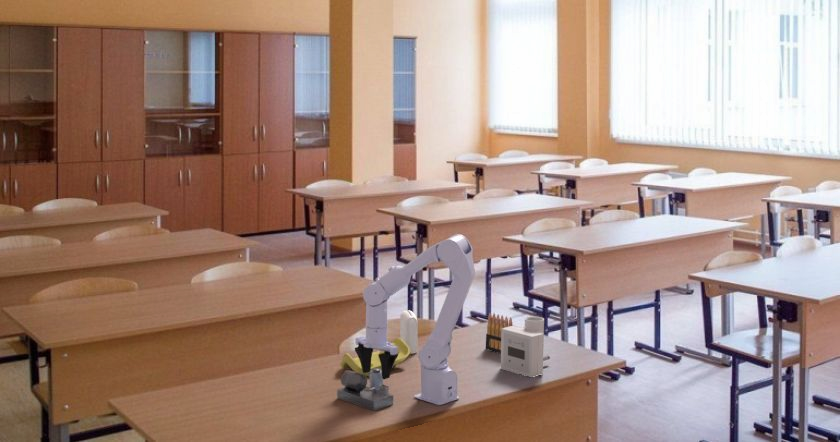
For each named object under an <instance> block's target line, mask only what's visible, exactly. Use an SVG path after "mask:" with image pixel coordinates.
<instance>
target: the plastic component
mask: <svg viewBox="0 0 840 442" xmlns="http://www.w3.org/2000/svg"><path fill="white" fill-rule="evenodd" d="M390 343H391V344H392V345H394V346H397V347H398V357H397V358H396V360H395V362H394V364H393V367H392V369H393V368H394V366H396V365H397V364H400V363H402V362H403V361H404V360H407V357H409V355H411V354H410V348H409V346H408V345H407V344H406V343H405V342H404V341H403V340H402V339H401V338H400V337H396V338H395V339H394V340H392V342H390ZM382 353H384V352H383V351H380V350H377V351H373V352H372V357H371V369H370V371H372V370H373V369H381V371H382V368H381V362H380V359H379V356H378V354H382ZM339 365H340V367H341V368H342V369H343V370H349V369H351V370H352V371H353V372H356V373H359V374H363V375H365V376H366V377H370V372H367V373H363V370H362V366H361V363H360V360H359V357H358V356H357V357H355V358H353V357H352V355H351V354H350V353H349V352H347V353H344V354H343V357H342V359H341V361H340V364H339Z"/></svg>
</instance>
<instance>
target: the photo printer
mask: <svg viewBox="0 0 840 442" xmlns="http://www.w3.org/2000/svg"><path fill="white" fill-rule="evenodd" d="M399 316H400V317H399V338H401V339H402V340H403V341H404V342H405V343H406V344H407V345H408V346H409V348H410V354H409V355H411V354H412V355H413V354H416V353H417V352H418V336H419V335H418V326H419V325H418V323H419V322H418V319H417V316H416V314H415V313H414V312H413V311H412V310H410V309H409V310H406V309H405V310H403V311H401V314H400V315H399Z"/></svg>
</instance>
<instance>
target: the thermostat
mask: <svg viewBox="0 0 840 442" xmlns="http://www.w3.org/2000/svg"><path fill="white" fill-rule="evenodd" d="M544 338H545V318H544V317H542V316H541V317H540V316H527V317H524V327H523V326H522V327H518V326H516V325H515V326H514V325H512V326H510V327H506V328H502V329H501V354H500V369H501V370H504V371H507V372H510V373H513V372H514V373H513V374H516V373H517V375H519V374H522V375H521V376H523V375H525V376H524V377H526V376H529V377H533V376H536V375H539V374H542V373H543V374H544V361H548V360H550V358H551V357H550V356H549V355H545V356H544V347H545V346H544V344H545V343H544V342H545V341H544V340H545V339H544ZM529 377H528V378H529Z"/></svg>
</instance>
